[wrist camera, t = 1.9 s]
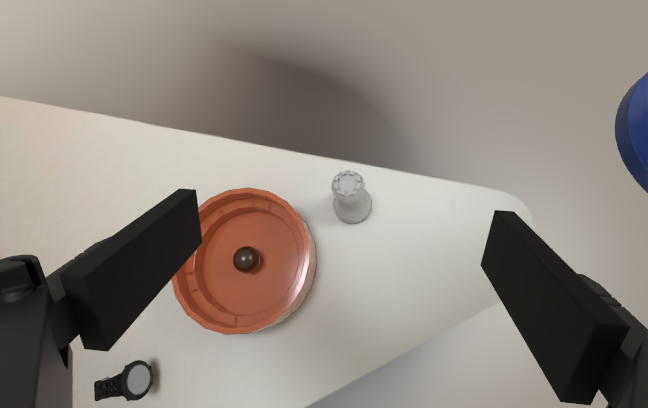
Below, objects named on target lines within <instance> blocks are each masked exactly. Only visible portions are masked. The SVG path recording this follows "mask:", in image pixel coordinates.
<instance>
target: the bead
mask: <svg viewBox="0 0 648 408" xmlns="http://www.w3.org/2000/svg"><path fill="white" fill-rule="evenodd" d="M233 264H234V267H235V268H236V269H237V270H238V271H239V272H242V273H250V272H253V271H254V270H256V269H257V267H258V266H259V264H260V255H259V253H258V251H257V250H256V249H255V248H253V247H251V246H243V247H241V248H239V249H238V250H237V251H236V252H235V253H234V256H233Z"/></svg>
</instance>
